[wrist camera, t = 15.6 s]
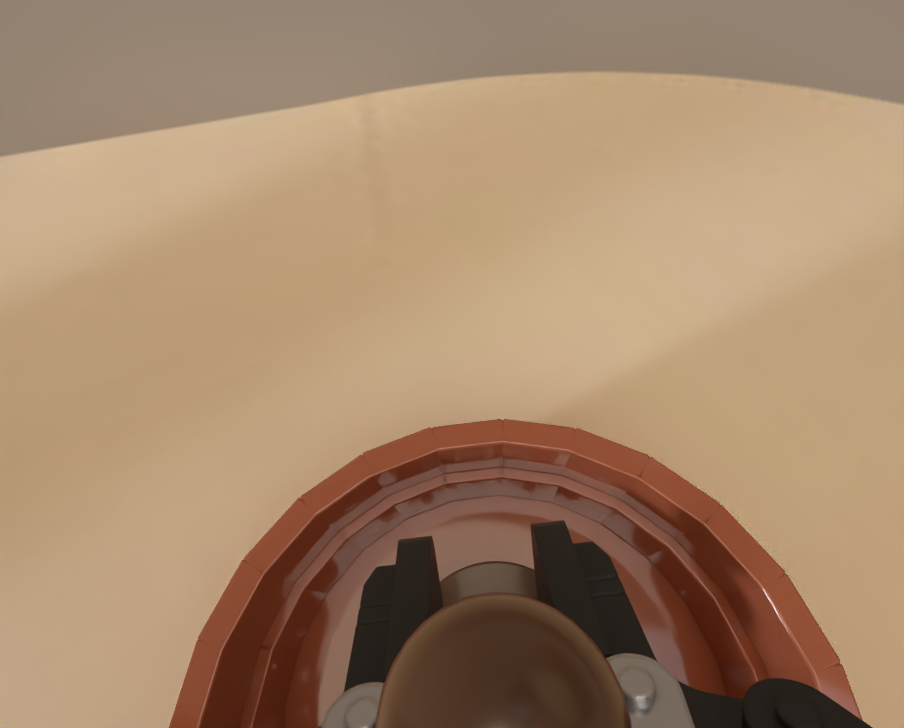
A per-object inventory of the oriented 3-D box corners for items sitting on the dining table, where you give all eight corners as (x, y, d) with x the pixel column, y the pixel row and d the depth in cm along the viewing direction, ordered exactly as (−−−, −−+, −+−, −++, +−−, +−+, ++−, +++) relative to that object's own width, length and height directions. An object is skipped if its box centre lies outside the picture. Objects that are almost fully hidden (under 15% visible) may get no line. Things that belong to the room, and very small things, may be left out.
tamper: (392, 668, 18) (3, 810, 4) (484, 545, 20) (450, 316, 5) (514, 788, 17) (627, 1811, 2) (604, 644, 18) (1021, 697, 4)
